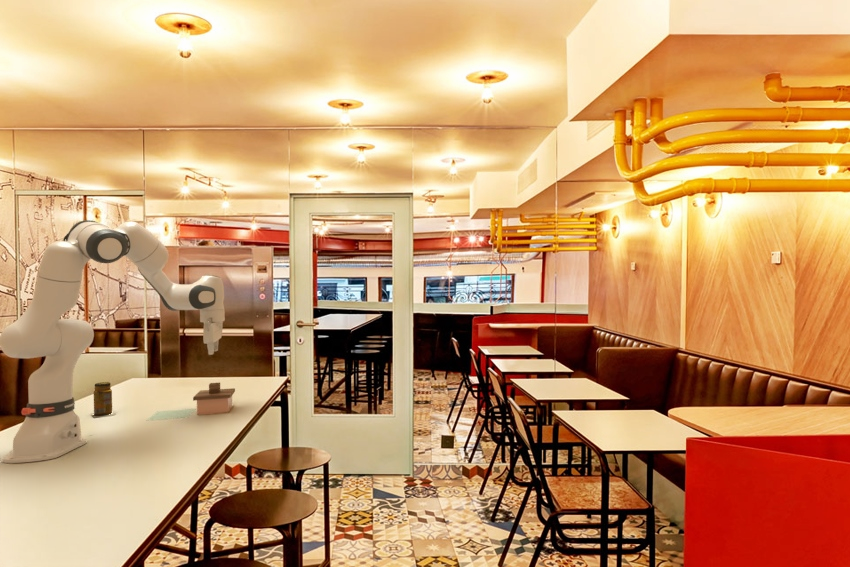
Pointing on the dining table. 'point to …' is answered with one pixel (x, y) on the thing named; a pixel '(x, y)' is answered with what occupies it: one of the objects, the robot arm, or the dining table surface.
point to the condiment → (102, 400)
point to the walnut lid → (214, 393)
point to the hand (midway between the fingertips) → (213, 352)
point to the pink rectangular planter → (214, 406)
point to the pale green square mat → (171, 414)
